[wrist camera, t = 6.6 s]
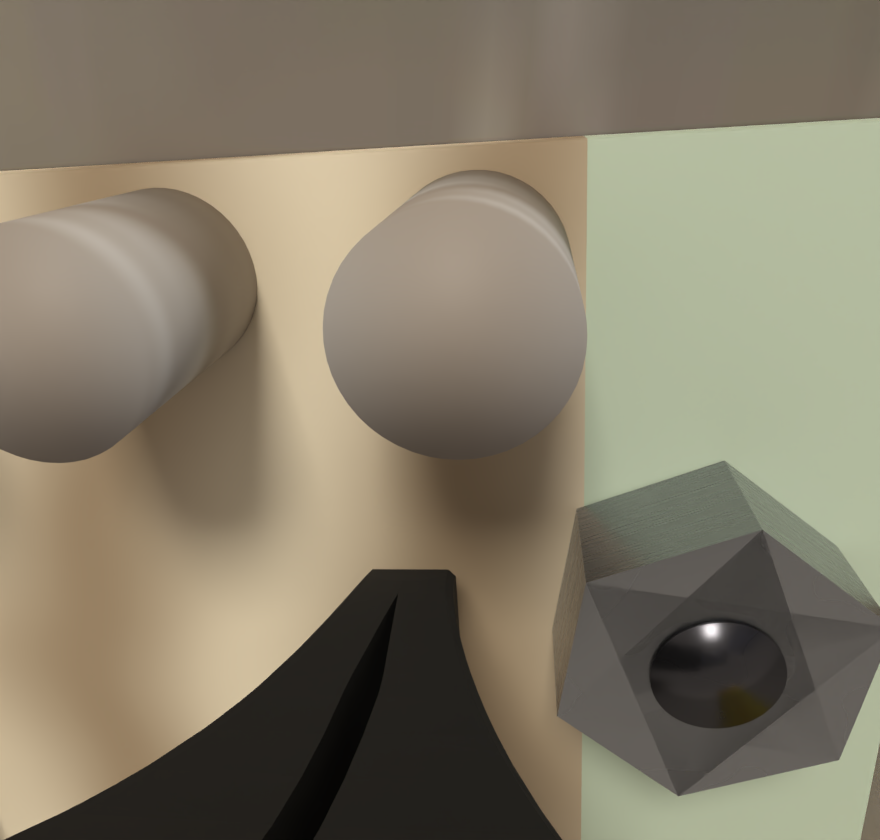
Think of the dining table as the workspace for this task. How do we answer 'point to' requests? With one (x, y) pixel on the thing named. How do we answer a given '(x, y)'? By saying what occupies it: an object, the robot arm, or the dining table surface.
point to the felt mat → (739, 395)
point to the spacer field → (280, 437)
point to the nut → (710, 633)
